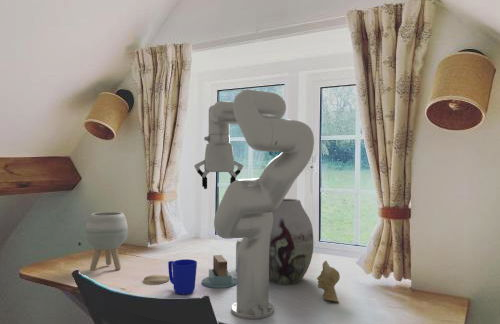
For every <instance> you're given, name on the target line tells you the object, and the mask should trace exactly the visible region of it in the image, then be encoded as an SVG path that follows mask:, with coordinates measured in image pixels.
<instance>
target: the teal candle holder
mask: <svg viewBox="0 0 500 324" xmlns="http://www.w3.org/2000/svg"><path fill="white" fill-rule="evenodd" d="M201 284H202V285H203V287H208V288H213V289H226V288H232V287H235V286H237V277H234V276H232V274H231V273H230V272H229V270H228V269H227V276H218V275H217V273H216V272H215V270H214V269H213V268H210V269H208V276H207V277H205V278H202V279H201Z"/></svg>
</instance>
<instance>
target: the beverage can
mask: <svg viewBox="0 0 500 324" xmlns="http://www.w3.org/2000/svg"><path fill="white" fill-rule="evenodd" d="M242 239H243V238H238V239H237V240H236V243H235V269H237V251H238V247H239V245H240V243H241V241H242Z"/></svg>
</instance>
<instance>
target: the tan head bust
mask: <svg viewBox="0 0 500 324" xmlns="http://www.w3.org/2000/svg"><path fill="white" fill-rule="evenodd" d="M339 272H340V271H338V270H337V269H336V268H334V267H332V266H330V264H329V263H328V261H327V260H324V261H323V262H322V270H321V272H320V275H318V276H317V278H316V280H318V281H317V287H318V289H322V290H323V291H324V292H323V294H322V298H323V299H324V300H327V301H331V302H335V303H340V301H339V299H338V295H337V292H336V289H335V286H336V284H338V283H339V281H340V279H341V278H340V276H341V275H340V273H339Z"/></svg>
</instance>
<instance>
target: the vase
mask: <svg viewBox="0 0 500 324" xmlns="http://www.w3.org/2000/svg"><path fill="white" fill-rule="evenodd" d="M272 214H273V226H272V231H271V236H270V246H269V282H271V283H274V284H277V285H294V284H297V283H299V282H301V281H302V280H303V278H304V277H305V275H306V274H307V272H308V269H309V268H310V267H309V266H310V265H311V262H312V260H313V259H312V258H313V252H314V231H313V225H312V221H311V219H310V217H309V215H308V214H307V212H306V210H305V209H304V207H303V205H302V203H301V200H300V199H296V198H284V199H283V201H282V202H281V204H280V205H279V207H278V208H277V209H276V210H275V211H273V212H272Z"/></svg>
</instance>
